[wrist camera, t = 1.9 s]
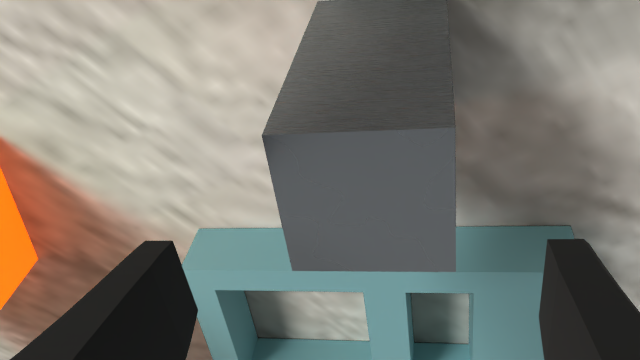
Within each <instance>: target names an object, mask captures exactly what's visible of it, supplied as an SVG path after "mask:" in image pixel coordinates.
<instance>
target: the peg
mask: <svg viewBox="0 0 640 360" xmlns="http://www.w3.org/2000/svg"><path fill="white" fill-rule="evenodd" d="M262 138H263V143H264V147H265V152H266V156H267V161H268V165H269V170H270V174H271V178H272V183H273V187H274V192H275V196H276V201H277V205H278V210H279V214H280V219H281V223H282V228H283V232H284V237H285V241H286V245H287V250H288V254H289V259H290V263H291V268H292V271H355V272H456V174H455V116H454V101H453V86H452V70H451V55H450V40H449V25H448V9H447V0H330V1H318V2H317V4H316V7H315V9H314V12H313V14H312V16H311V19H310V21H309V24H308V26H307V28H306V31H305V33H304V36H303V38H302V40H301V43H300V45H299V47H298V50H297V52H296V55H295V57H294V59H293V62H292V64H291V67H290V69H289V71H288V74H287V76H286V79H285V81H284V83H283V86H282V88H281V91H280V93H279V95H278V98H277V100H276V103H275V105H274V107H273V110H272V112H271V115H270V117H269V119H268V122H267V124H266V127H265V129H264V131H263V134H262Z"/></svg>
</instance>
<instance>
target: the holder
mask: <svg viewBox="0 0 640 360" xmlns="http://www.w3.org/2000/svg"><path fill="white" fill-rule="evenodd" d="M547 239H574V236H573V232H572V229H571V226H487V227H456V272H355V271H292V268H291V263H290V259H289V254H288V250H287V245H286V241H285V237H284V232H283V228H234V229H199V230H198V232H197V234H196V236H195V238H194V240H193V242H192V245H191V247H190V249H189V251H188V253H187V255H186V257H185V260H184V262H183V264H182V267H183V270H184V273H185V276H186V278H187V281H188V284H189V286H190V289H191V292H192V295H193V297H194V300H195V303H196V305H197V308H198V313H197V318H198V321H199V324H200V326H201V329H202V332H203V334H204V337H205V340H206V342H207V345H208V348H209V350H210V353H211V356H212V358H213V360H544V355H543V347H542V340H541V332H540V324H539V309H540V300H541V291H542V282H543V273H544V264H545V255H546V246H547ZM244 290H248V291H323V292H363V294H364V302H365V309H366V317H367V324H368V332H369V339H370V341H339V340H305V339H271V338H258V337H257V334H256V330H255V327H254V323H253V320H252V317H251V313H250V310H249V306H248V303H247V300H246V296H245V293H244ZM410 293H469V344H441V343H414V339H413V324H412V309H411V294H410Z"/></svg>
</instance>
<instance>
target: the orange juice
mask: <svg viewBox="0 0 640 360" xmlns="http://www.w3.org/2000/svg"><path fill="white" fill-rule="evenodd" d="M37 260H38V258H37V255H36V253H35V250H34V248H33V245H32V243H31V241H30V238H29V236H28V233H27V231H26V228H25V226H24V224H23V221H22V219H21V216H20V214H19V211H18V209H17V207H16V204H15V202H14V199H13V197H12V194H11V192H10V190H9V187H8V185H7V182H6V180H5V177H4V175H3V173H2V170H1V168H0V310H1V308H2V307H3V306H4V304H5V303H6V302H7V300H8V299H9V298H10V296H11V295H12V294H13V292H14V291H15V289H16V288H17V287H18V285H19V284H20V283H21V281H22V280H23V279H24V277H25V276H26V275H27V273H28V272H29V271H30V269H31V268H32V267H33V265H34V264H35V263H36V261H37Z"/></svg>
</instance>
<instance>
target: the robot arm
mask: <svg viewBox="0 0 640 360" xmlns="http://www.w3.org/2000/svg"><path fill="white" fill-rule="evenodd" d="M197 313H198V308H197V305H196V303H195V300H194V297H193V295H192V292H191V289H190V286H189V284H188V281H187V278H186V276H185V273H184V270H183V267H182V265H181V262H180V259H179V257H178V254H177V251H176V248H175V246H174V243H173V241H144V242H143V243H142V244H141V245H140V246H139V247H137V248H136V249H135V250H134V251H133V252H132V253H131V254H129V255H128V256H127V257H126V258H125V259H124V260H123V261H122V262H121V263H120V264H119V265H118V266H116V267H115V268H114V269H113V270H112V271H111V272H110V273H109V274H108V275H107V276H106V277H105V278H104V279H102V280H101V281H100V282H99V283H98V284H97V285H96V286H95V287H94V288H93V289H92V290H90V291H89V292H88V293H87V294H86V295H85V296H84V297H83V298H82V299H81V300H79V301H78V302H77V303H76V304H75V305H74V306H73V307H72V308H71V309H70V310H68V311H67V312H66V313H65V314H64V315H63V316H62V317H61V318H59V319H58V320H57V321H56V322H55V323H53V324H52V325H51V326H50V327H49V328H47V329H46V330H45V331H44V332H43V333H42V334H40V335H39V336H38V337H37V338H36V339H34V340H33V341H32V342H31V343H30V344H29V345H27V346H26V347H25V348H24V349H23V350H21V351H20V352H19V353H18V354H16V355H15V356H14V357H13V358H11V359H10V360H185V359H186V357H187V353H188V349H189V346H190V342H191V338H192V334H193V330H194V326H195V321H196V317H197ZM539 324H540V332H541V340H542V347H543V355H544V360H640V312H639V311H638V310H637V308H636V307H635V306H634V305H633V303H632V302H631V301H630V299H629V298H628V297H627V296H626V294H625V293H624V292H623V290H622V289H621V288H620V286H619V285H618V284H617V282H616V281H615V280H614V278H613V277H612V276H611V274H610V273H609V272H608V270H607V269H606V267H605V266H604V265H603V263H602V262H601V260H600V259H599V258H598V256H597V255H596V253H595V252H594V250H593V249H592V247H591V246H590V244H589V243H588V242H586V241H585V240H584V239H547V246H546V255H545V264H544V273H543V282H542V291H541V300H540V309H539Z"/></svg>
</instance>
